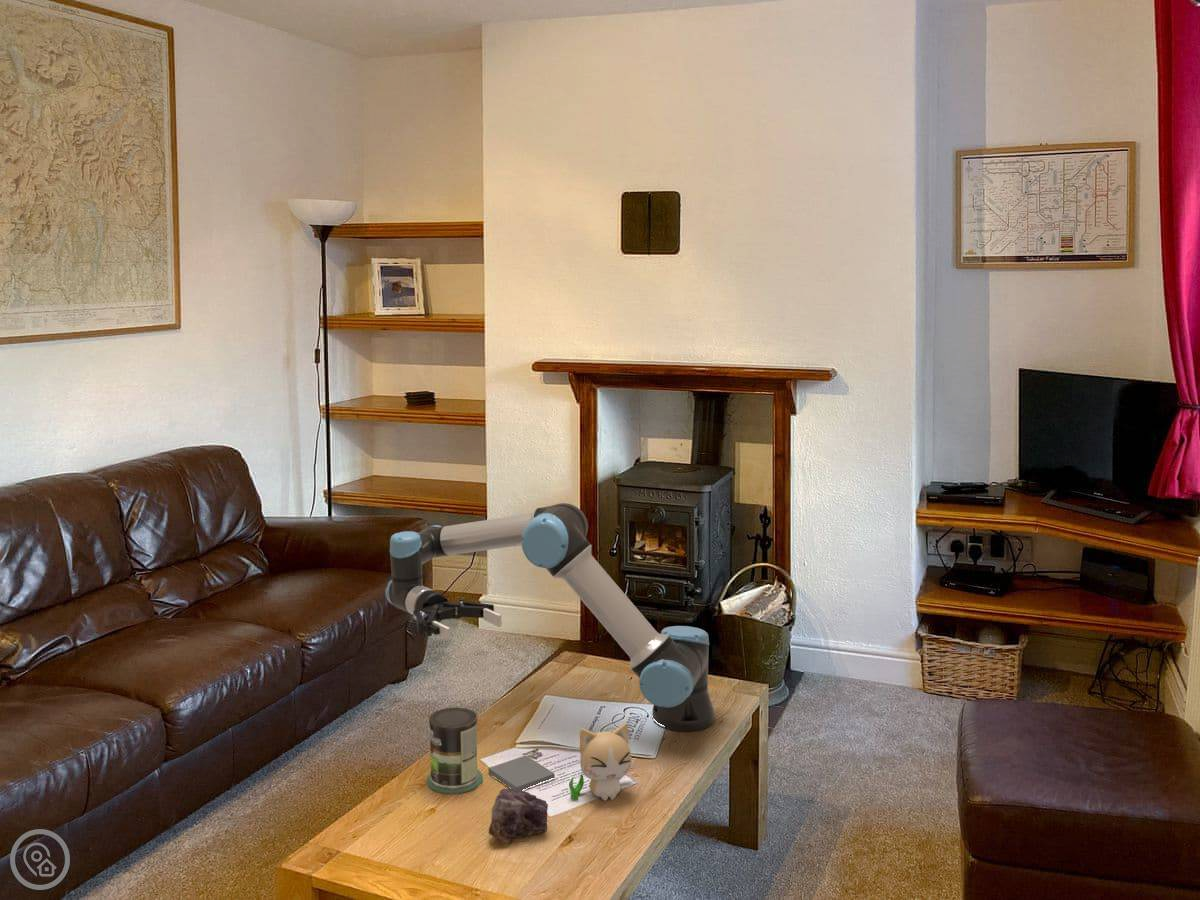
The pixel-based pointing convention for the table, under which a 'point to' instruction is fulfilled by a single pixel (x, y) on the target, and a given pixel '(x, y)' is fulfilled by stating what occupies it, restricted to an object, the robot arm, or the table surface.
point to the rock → (517, 815)
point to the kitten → (603, 761)
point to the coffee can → (453, 747)
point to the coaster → (456, 791)
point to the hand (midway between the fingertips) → (475, 627)
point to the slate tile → (521, 773)
